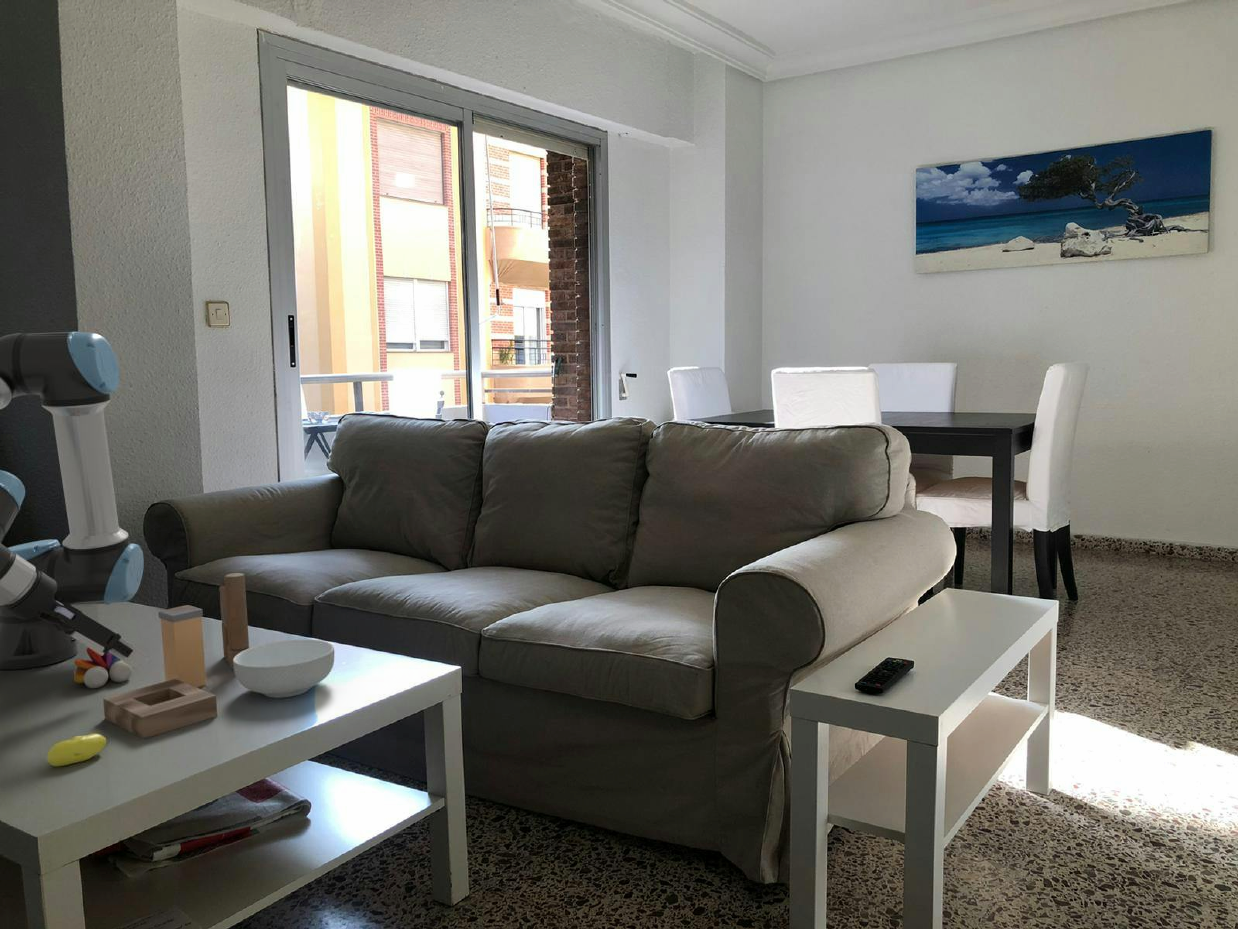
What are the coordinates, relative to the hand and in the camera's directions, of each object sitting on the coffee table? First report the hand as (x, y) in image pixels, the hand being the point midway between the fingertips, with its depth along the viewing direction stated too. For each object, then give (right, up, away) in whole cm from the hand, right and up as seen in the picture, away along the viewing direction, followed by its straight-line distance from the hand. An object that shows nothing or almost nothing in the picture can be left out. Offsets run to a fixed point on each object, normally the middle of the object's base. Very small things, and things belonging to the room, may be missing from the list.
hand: (124, 656), depth 166 cm
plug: (+7, -7, +9) cm, 13 cm away
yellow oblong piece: (+5, -11, -23) cm, 26 cm away
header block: (+10, -9, -7) cm, 15 cm away
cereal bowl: (+26, -7, +5) cm, 28 cm away
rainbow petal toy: (-10, -7, +13) cm, 18 cm away
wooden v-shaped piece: (+11, -6, +22) cm, 25 cm away
